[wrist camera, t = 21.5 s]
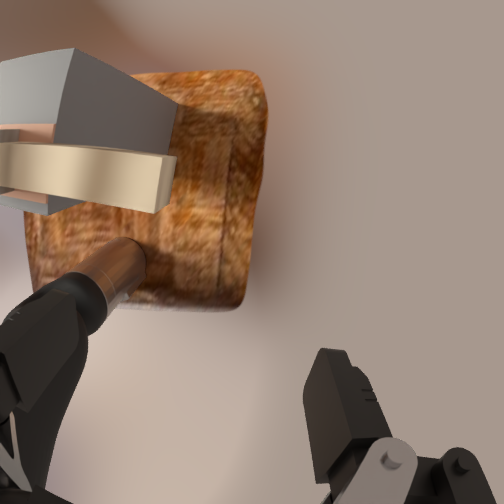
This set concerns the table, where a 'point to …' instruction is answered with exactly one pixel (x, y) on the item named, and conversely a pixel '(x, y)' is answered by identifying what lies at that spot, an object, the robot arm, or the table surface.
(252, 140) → the table surface
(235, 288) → the table surface
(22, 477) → the robot arm
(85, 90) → the pedestal
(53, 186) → the beam
